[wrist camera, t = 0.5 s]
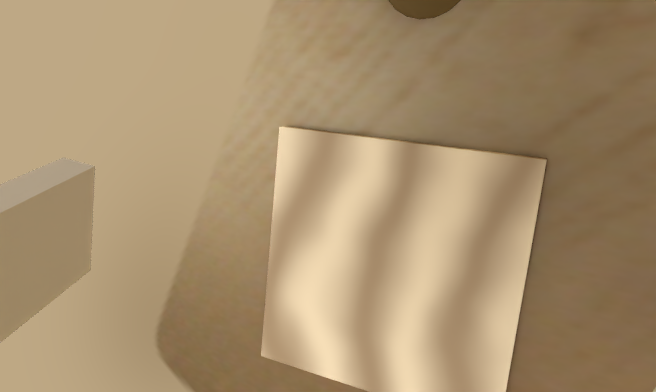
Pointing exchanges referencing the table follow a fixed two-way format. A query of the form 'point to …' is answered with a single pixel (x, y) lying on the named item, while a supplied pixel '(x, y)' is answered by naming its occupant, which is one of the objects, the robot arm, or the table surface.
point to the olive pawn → (423, 7)
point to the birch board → (398, 261)
